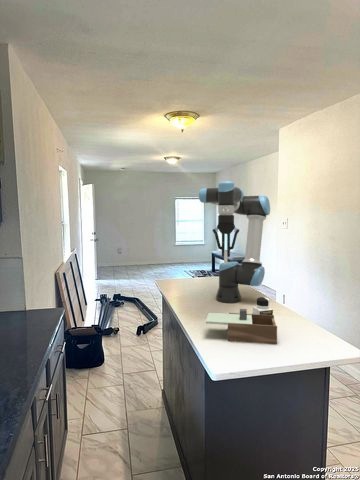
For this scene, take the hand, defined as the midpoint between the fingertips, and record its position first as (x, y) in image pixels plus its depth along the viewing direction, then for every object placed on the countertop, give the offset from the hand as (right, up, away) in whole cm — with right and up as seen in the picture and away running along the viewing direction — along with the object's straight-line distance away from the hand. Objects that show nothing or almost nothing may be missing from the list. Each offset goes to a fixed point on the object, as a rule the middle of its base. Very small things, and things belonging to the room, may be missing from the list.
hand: (225, 263), depth 155 cm
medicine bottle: (+19, -29, +4) cm, 35 cm away
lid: (0, -24, -13) cm, 27 cm away
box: (+9, -31, -14) cm, 35 cm away
